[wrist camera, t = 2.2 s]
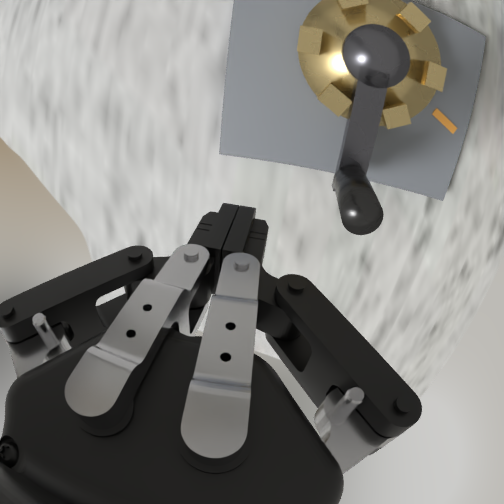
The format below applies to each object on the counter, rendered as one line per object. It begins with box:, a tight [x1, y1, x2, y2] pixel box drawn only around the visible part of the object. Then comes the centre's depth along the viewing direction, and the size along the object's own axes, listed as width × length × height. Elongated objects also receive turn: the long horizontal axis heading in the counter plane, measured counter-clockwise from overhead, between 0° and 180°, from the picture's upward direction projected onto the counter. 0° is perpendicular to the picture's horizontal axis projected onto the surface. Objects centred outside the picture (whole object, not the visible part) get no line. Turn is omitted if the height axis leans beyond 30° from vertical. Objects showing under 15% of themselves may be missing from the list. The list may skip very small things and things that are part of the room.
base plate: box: [219, 0, 486, 201], centre depth 19 cm, size 16×20×2 cm
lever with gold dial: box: [297, 0, 447, 235], centre depth 15 cm, size 15×10×8 cm, turn 174°
